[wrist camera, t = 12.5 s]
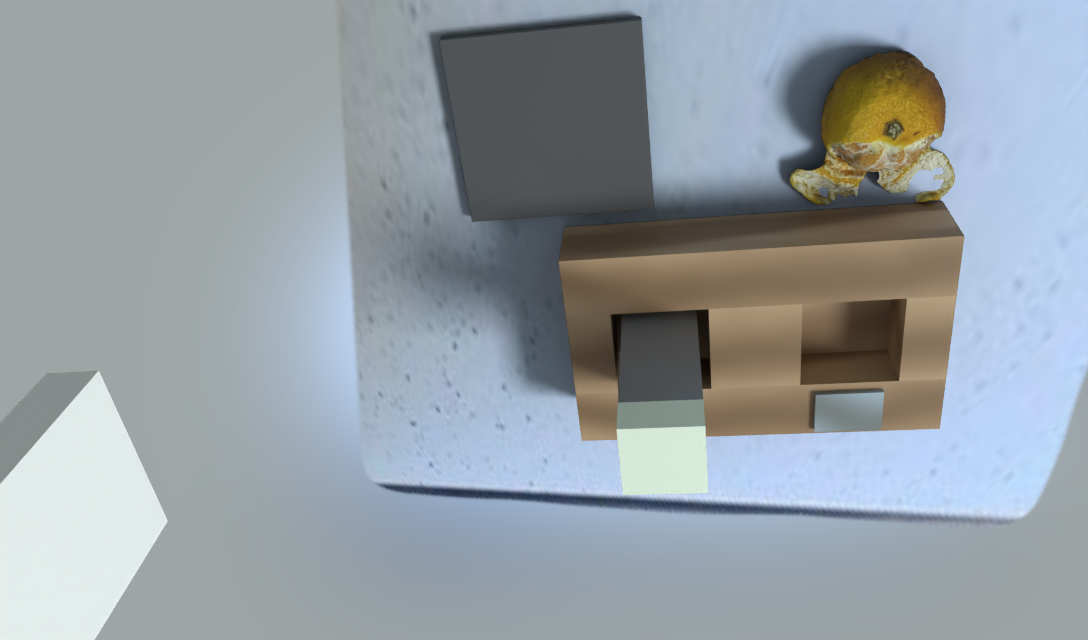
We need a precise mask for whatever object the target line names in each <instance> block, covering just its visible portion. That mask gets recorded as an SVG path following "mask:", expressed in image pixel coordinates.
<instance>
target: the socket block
mask: <svg viewBox="0 0 1088 640" xmlns="http://www.w3.org/2000/svg"><path fill="white" fill-rule="evenodd" d="M963 242H964V235H963V233H962V232H961V230H960V228H959V227H958V225H957V224H956V222H955V220H954V219H953V217H952V216H951V214H950V212H949V211H948V209H947V208H946V206H945V204H944V203H943V201H939V202H925V203H910V204H895V205H881V206H866V207H851V208H837V209H822V210H807V211H792V212H778V213H763V214H748V215H734V216H719V217H704V218H690V219H675V220H660V221H646V222H631V223H616V224H602V225H587V226H572V227H564V233H563V239H562V245H561V250H560V256H559V269H560V277H561V284H562V292H563V299H564V307H565V315H566V322H567V330H568V338H569V345H570V353H571V361H572V368H573V376H574V384H575V391H576V399H577V407H578V414H579V422H580V430H581V437H582V441H587V440H617V430H616V429H617V409H618V389H619V368H620V348H621V328H622V314H628V313H647V312H665V311H684V310H696V313H697V326H698V339H699V351H700V364H701V377H702V389H703V402H704V415H705V429H706V437H707V436H737V435H767V434H796V433H826V432H856V431H886V430H916V429H940V422H941V414H942V406H943V398H944V390H945V383H946V375H947V367H948V359H949V351H950V344H951V336H952V328H953V320H954V312H955V305H956V297H957V289H958V281H959V273H960V266H961V258H962V250H963Z"/></svg>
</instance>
